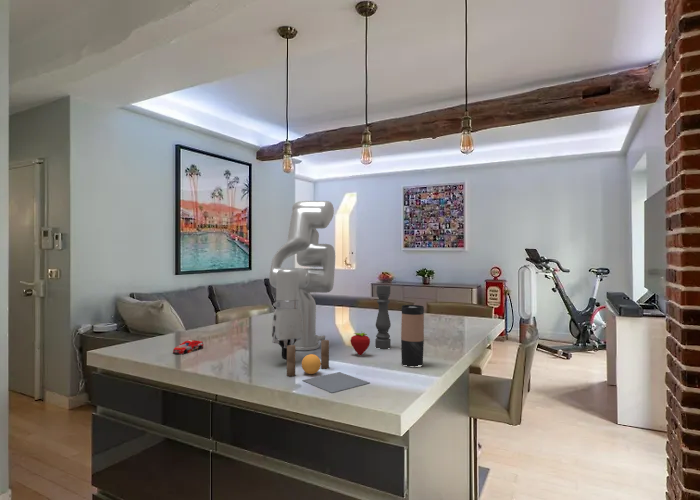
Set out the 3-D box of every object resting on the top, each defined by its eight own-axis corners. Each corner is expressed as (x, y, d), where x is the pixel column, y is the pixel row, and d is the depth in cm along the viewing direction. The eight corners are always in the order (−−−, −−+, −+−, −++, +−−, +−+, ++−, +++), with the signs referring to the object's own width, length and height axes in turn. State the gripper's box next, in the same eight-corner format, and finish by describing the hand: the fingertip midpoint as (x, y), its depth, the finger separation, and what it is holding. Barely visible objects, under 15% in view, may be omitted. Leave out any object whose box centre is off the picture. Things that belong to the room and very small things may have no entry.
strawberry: (353, 352, 158) (353, 326, 158) (372, 354, 155) (372, 328, 156) (347, 356, 153) (348, 328, 153) (366, 358, 150) (367, 330, 150)
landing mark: (339, 372, 131) (339, 372, 131) (369, 383, 120) (369, 382, 120) (302, 380, 122) (302, 380, 122) (331, 393, 111) (331, 392, 111)
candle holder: (374, 346, 170) (374, 285, 171) (389, 346, 171) (389, 285, 171) (376, 349, 164) (377, 286, 165) (391, 349, 165) (392, 286, 165)
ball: (315, 373, 133) (312, 354, 134) (326, 371, 128) (322, 351, 130) (299, 376, 129) (296, 357, 130) (310, 374, 124) (307, 354, 126)
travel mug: (425, 363, 144) (425, 305, 144) (421, 368, 137) (422, 307, 137) (403, 361, 146) (403, 304, 147) (398, 366, 139) (399, 306, 139)
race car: (181, 356, 151) (181, 345, 151) (169, 355, 153) (169, 344, 153) (206, 348, 163) (206, 338, 163) (195, 347, 165) (195, 337, 165)
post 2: (325, 366, 138) (325, 339, 138) (330, 368, 136) (330, 340, 136) (319, 367, 136) (319, 340, 136) (324, 369, 134) (324, 341, 134)
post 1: (292, 373, 129) (292, 344, 129) (296, 375, 127) (297, 346, 127) (284, 375, 127) (285, 345, 128) (289, 376, 126) (289, 347, 126)
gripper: (273, 307, 134) (272, 364, 134) (311, 304, 144) (310, 357, 144) (262, 305, 140) (261, 360, 140) (299, 302, 150) (298, 353, 149)
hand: (286, 358), depth 142 cm, fingers closed
